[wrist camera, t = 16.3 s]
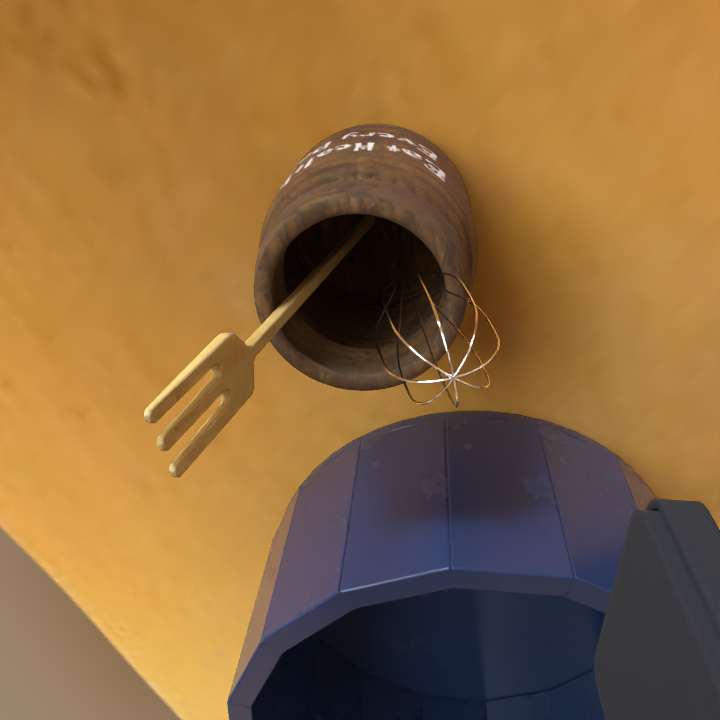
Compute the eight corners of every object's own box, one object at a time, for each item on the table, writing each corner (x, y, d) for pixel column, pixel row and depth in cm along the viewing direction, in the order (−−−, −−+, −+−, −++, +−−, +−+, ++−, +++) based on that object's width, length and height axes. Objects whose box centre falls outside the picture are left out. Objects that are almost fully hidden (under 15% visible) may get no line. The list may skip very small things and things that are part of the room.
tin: (267, 397, 26) (208, 549, 19) (721, 425, 25) (836, 597, 18) (283, 683, 34) (245, 864, 27) (627, 714, 33) (681, 912, 26)
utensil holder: (485, 279, 23) (533, 528, 12) (305, 314, 24) (212, 567, 14) (453, 96, 20) (480, 218, 10) (253, 145, 22) (88, 300, 11)
